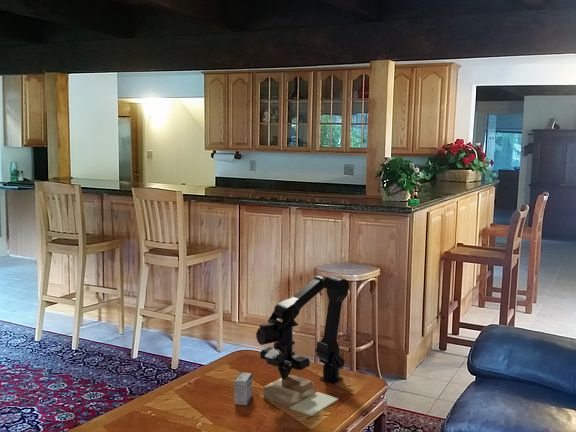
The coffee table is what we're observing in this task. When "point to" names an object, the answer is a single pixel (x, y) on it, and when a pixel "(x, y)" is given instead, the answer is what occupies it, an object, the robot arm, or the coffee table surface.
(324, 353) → the robot arm
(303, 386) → the walnut tile
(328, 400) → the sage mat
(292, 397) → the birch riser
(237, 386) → the medicine box
